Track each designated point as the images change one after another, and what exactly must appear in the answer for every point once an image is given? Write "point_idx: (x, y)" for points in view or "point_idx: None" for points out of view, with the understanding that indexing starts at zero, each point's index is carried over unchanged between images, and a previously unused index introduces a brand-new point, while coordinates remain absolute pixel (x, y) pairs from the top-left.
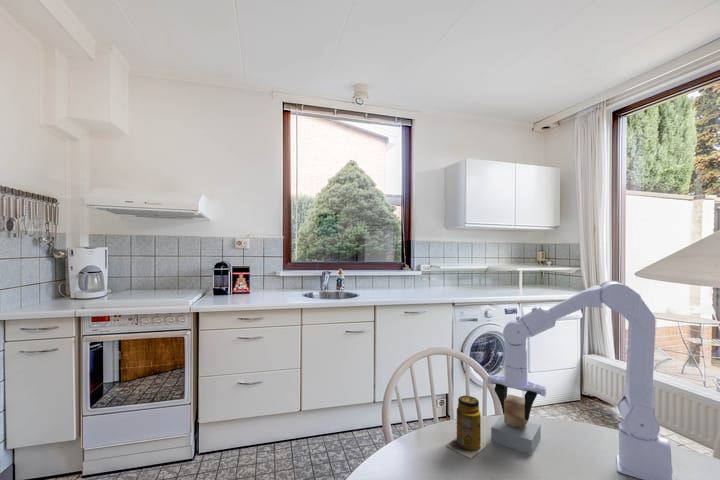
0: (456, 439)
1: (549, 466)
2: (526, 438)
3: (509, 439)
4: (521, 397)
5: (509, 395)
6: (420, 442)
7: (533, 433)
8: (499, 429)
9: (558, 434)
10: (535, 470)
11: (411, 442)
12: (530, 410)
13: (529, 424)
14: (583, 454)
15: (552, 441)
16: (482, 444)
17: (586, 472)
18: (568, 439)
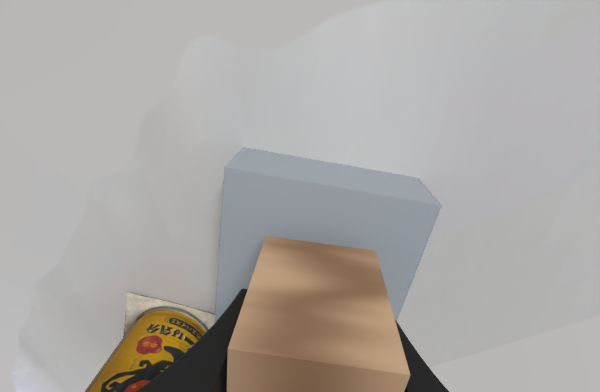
0: (129, 326)
1: (424, 343)
2: None
3: None
4: (352, 369)
5: (242, 368)
6: (57, 374)
7: (394, 306)
8: None
9: (521, 88)
10: None
11: (39, 382)
12: (407, 340)
13: (379, 229)
14: (581, 227)
15: (469, 180)
16: (211, 318)
17: (540, 329)
18: (561, 120)
